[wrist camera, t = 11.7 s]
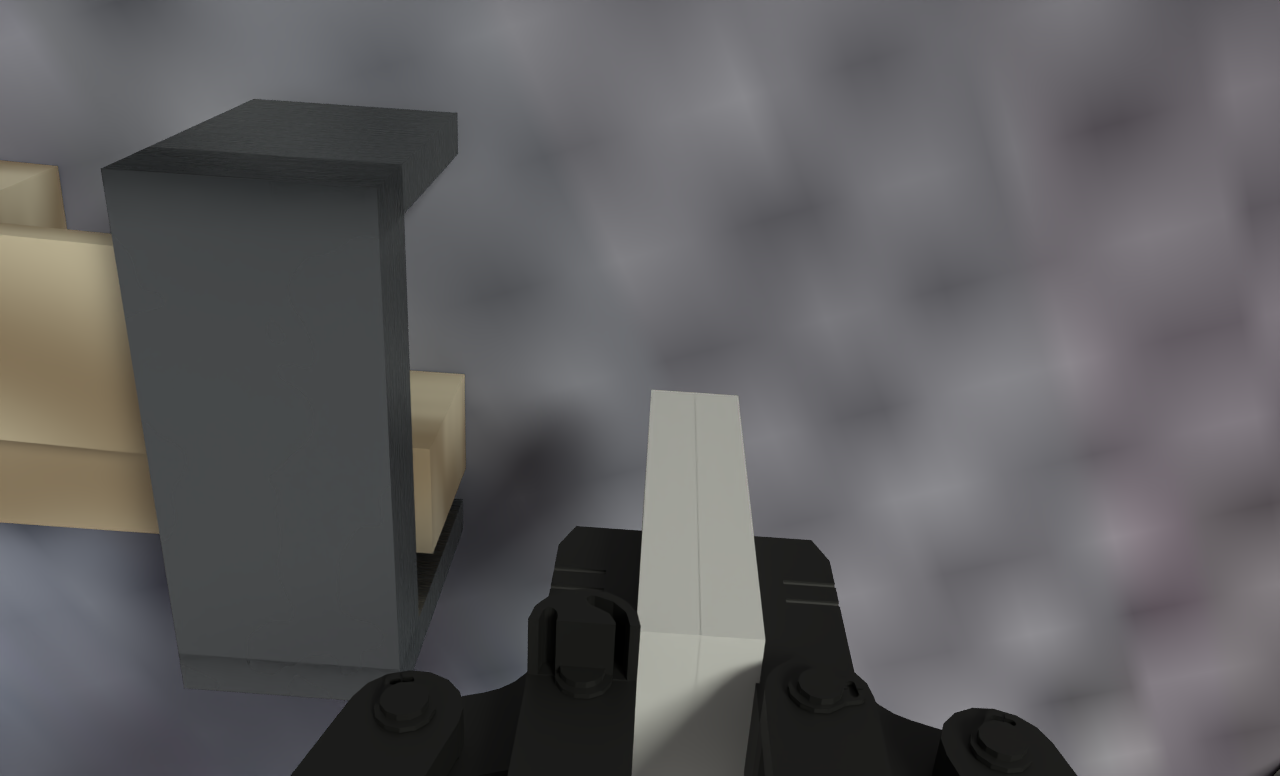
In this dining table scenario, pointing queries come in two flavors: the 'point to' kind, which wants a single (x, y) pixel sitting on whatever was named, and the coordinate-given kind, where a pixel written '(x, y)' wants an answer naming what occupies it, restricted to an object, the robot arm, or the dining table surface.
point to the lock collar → (282, 388)
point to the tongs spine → (122, 491)
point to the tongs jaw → (60, 324)
